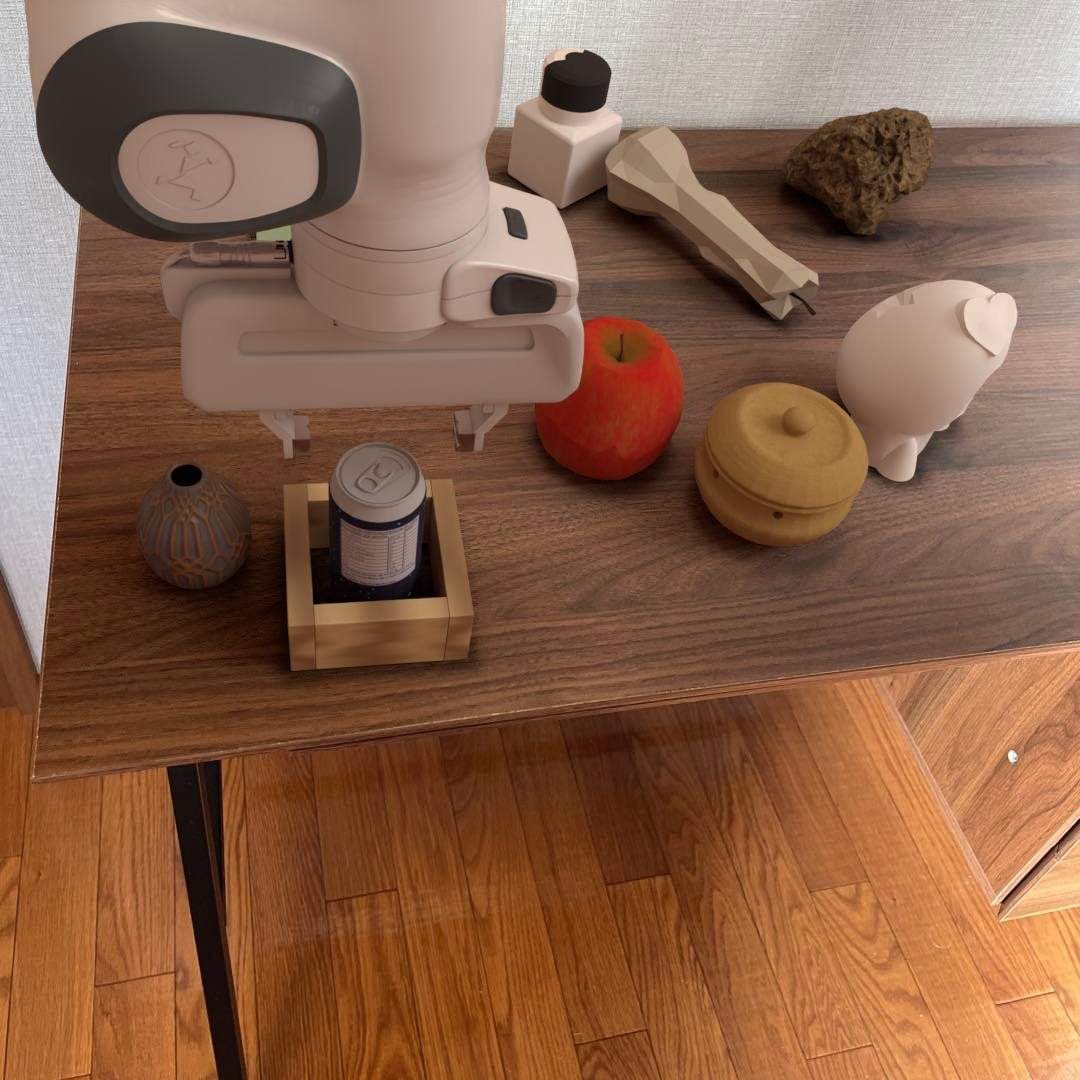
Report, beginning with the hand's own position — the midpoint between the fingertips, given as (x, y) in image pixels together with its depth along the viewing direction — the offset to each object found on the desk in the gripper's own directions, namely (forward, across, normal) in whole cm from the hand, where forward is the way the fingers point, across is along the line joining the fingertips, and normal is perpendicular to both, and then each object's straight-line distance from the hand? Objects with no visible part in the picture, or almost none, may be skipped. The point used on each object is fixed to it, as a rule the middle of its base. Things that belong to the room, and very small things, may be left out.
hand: (383, 446), depth 62 cm
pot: (+15, +29, +6) cm, 33 cm away
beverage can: (+14, 0, 0) cm, 14 cm away
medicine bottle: (+15, +21, +47) cm, 53 cm away
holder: (+14, 0, 0) cm, 14 cm away
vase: (+14, -11, +3) cm, 18 cm away
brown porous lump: (+15, +50, +43) cm, 67 cm away
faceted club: (+15, +32, +35) cm, 49 cm away
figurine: (+15, +42, +14) cm, 46 cm away
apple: (+15, +18, +13) cm, 26 cm away
